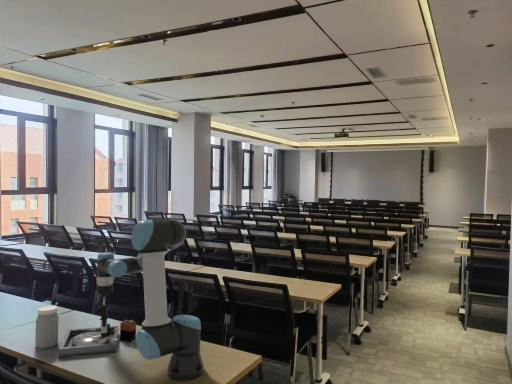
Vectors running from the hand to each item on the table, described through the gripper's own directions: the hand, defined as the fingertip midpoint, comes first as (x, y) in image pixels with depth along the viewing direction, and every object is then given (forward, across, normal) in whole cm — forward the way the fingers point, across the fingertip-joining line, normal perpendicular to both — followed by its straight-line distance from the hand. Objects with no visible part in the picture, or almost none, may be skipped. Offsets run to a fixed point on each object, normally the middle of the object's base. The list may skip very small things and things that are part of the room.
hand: (104, 332), depth 185 cm
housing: (+5, 0, +6) cm, 8 cm away
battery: (+6, +2, -11) cm, 13 cm away
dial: (+4, 0, +6) cm, 7 cm away
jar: (+5, +4, +26) cm, 27 cm away
